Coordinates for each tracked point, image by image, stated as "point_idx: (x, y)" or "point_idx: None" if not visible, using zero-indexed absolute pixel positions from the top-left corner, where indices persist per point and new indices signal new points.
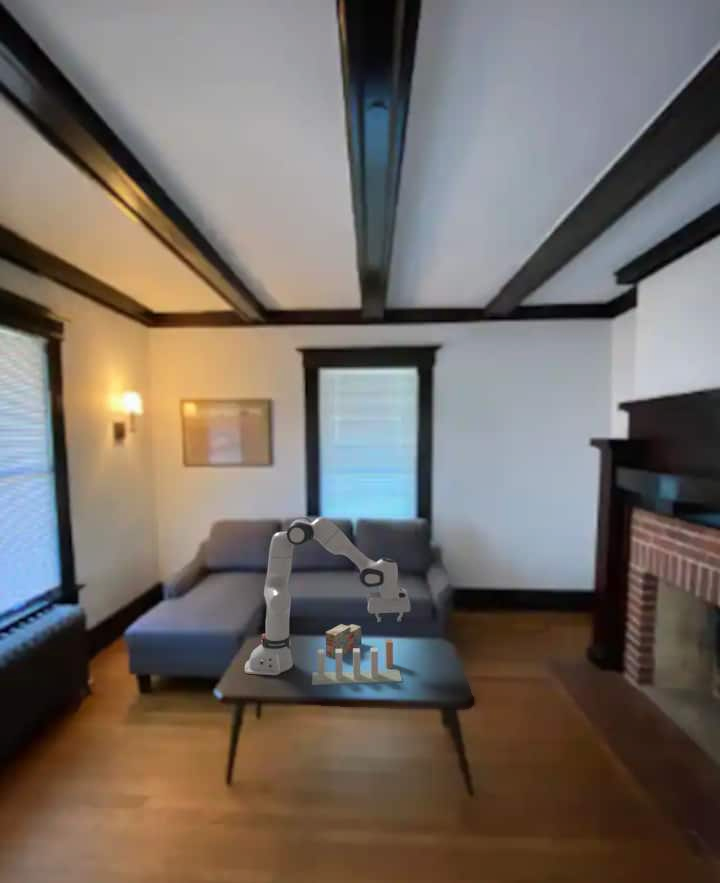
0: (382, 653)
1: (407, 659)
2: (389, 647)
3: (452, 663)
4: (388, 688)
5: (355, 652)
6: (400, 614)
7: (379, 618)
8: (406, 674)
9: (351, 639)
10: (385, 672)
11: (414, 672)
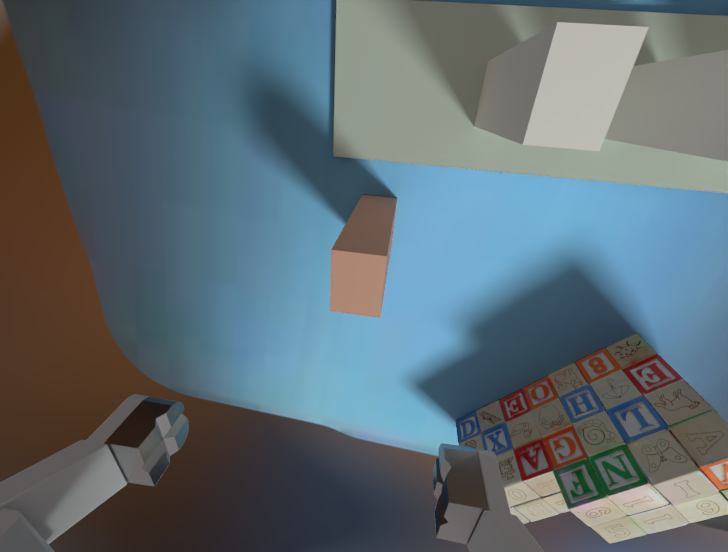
0: (384, 334)
1: (277, 262)
2: (365, 236)
3: (66, 185)
4: None
5: None
6: (56, 512)
7: (474, 513)
8: (299, 103)
9: (530, 433)
10: (419, 131)
11: (252, 120)
